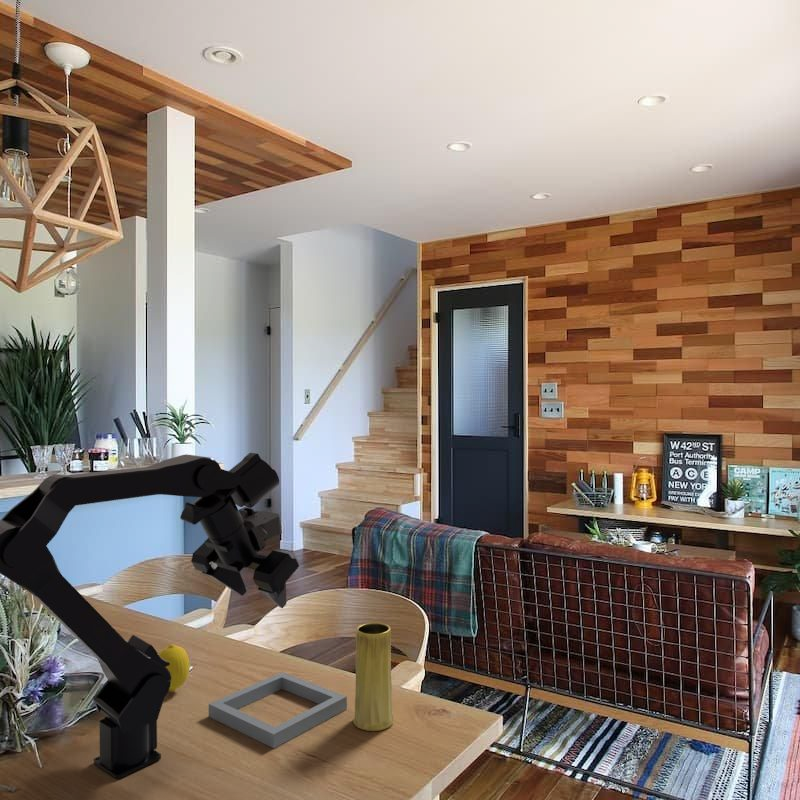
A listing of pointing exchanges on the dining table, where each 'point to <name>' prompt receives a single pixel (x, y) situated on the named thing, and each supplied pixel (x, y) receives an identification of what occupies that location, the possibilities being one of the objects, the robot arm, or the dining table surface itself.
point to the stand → (287, 730)
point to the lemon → (176, 665)
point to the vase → (373, 677)
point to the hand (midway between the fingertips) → (263, 599)
